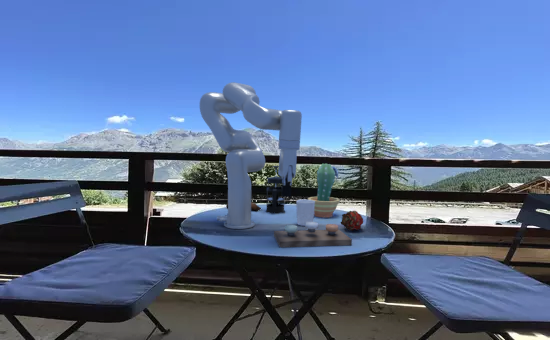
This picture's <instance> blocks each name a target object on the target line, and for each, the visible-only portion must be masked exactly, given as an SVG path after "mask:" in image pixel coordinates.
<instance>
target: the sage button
mask: <svg viewBox="0 0 550 340" xmlns="http://www.w3.org/2000/svg"><path fill="white" fill-rule="evenodd" d="M297 230H298V226H297V225H295V224H286V225H285V226H284V231H285V232H287V235H288V236H294V235H295V232H297Z"/></svg>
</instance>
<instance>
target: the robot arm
mask: <svg viewBox="0 0 550 340" xmlns="http://www.w3.org/2000/svg"><path fill="white" fill-rule="evenodd" d="M260 102H261V101H260V97H259V96H258V94H257V93H256V89H254V87H253V86H252V85H249V84H244V83H240V82H228V83H226V84H225V85H224V86H223V88H222V92H215V91H210V92H206V93H203V94H202V96H201V97H200V99H199V112H200V115H201V117H202V120H203V121H204V122H205V124H206V125H207V126H208V128H209V130H210V131H211V133H212V135H213V136H214V138H215V140H216V142H217V144H218V146H219V147H220V148H221V150H222V151H224V152H225V153H227V154H226V156H225V166H226V172H227V173H226V174H227V188H228V189H227V203H228V208H227V213H226V214H224V215H217V216H216V221H217V222H218V221H219V222H223V225H224V227H225V228H228V229H235V230H246V229H251V228H253V227H255V224H256V223H255V221H253V220H252V210H251V202H252V181H251V180H252V179H251V177H250V176H249V174H248V173H252V172H259V171H261V170H262V169H264V167H265V164H266V158H265V154H264V152H263V150H262V149H261V147H260V146H259V144H258V142H257V141H256V139H255V137H254V136H253V135H252V133H250V132H249V131H247V130H243V129H242V130H239V129H235V128H234V127H233V126H232V125H231V123H230V121H229V120H228V119H227V118H226V117H225V116H224V115H223V114H228V115H230V114H231V115H232V114H236V113H238V112H240V111H241V112H242V115H243V117H244V119H245V120H246V122H248V123H250V124H251V125H252V126H253V127H255V128H257V129H259V130H265V131H266V130H268V131H279V133H278V147H277V148H278V149H279V150H280V152H279V158H278V159H279V162H278V166H279V167H278V169H277V170H278V171H277V172H278V175H279V177H281V178H283V181H282V183H281V187H282V192H281V196H282V197H283V198H285V197H286V198H287V197H288V198H290V197H292V184H293V183H292V181H293V179H294V178H295V177H296V175H297V174H296V173H297V156H298V155H297V153H298V151H300V150H301V149H300V148H301V147H300V146H301V135H302V134H301V133H302V132H301V131H302V117H303V116H302V115H303V114H302V112H301V111H300V110H295V109H283V110H281V109H274V108H265V107H263V106H261V105H260Z"/></svg>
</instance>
